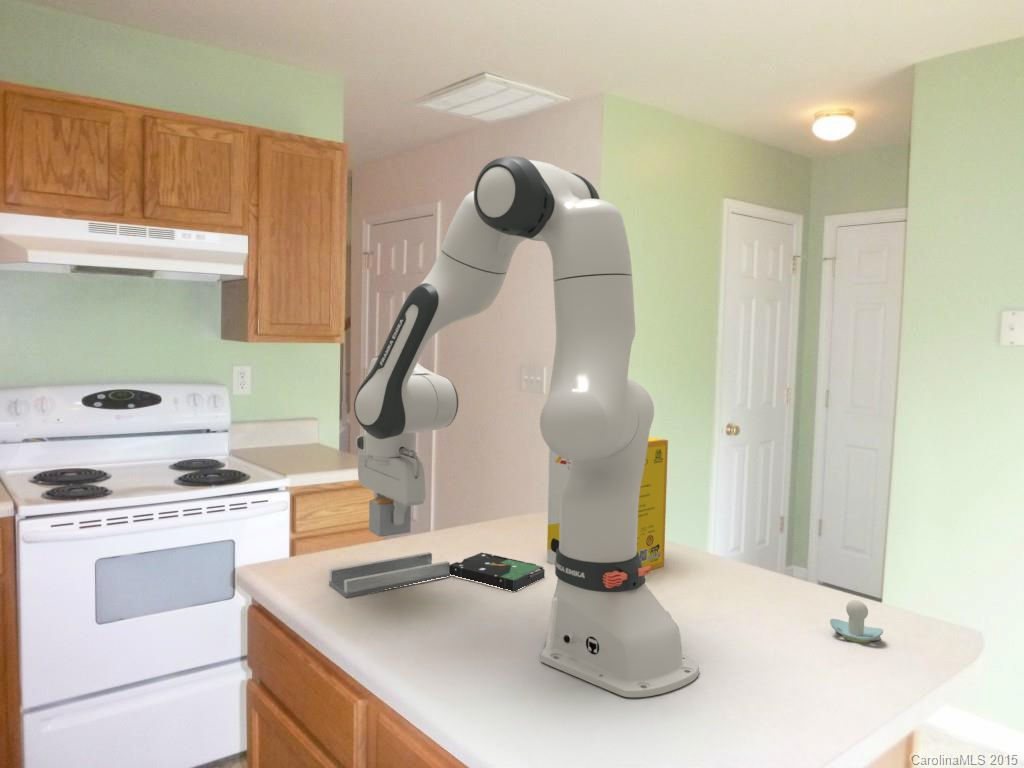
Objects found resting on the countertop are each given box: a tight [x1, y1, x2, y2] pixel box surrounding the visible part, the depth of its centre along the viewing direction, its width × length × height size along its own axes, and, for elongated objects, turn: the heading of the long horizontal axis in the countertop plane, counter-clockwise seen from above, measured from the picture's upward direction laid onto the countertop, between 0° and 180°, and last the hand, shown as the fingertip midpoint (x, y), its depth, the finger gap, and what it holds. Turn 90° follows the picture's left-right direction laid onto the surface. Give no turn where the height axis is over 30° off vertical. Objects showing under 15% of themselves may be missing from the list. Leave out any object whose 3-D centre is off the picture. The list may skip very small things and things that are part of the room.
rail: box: [328, 551, 451, 599], centre depth 136 cm, size 8×20×3 cm, turn 125°
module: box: [368, 497, 412, 538], centre depth 136 cm, size 4×6×6 cm
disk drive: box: [449, 552, 546, 592], centre depth 140 cm, size 10×3×15 cm
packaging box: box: [546, 436, 669, 573], centre depth 148 cm, size 16×16×25 cm
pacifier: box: [829, 599, 884, 644], centre depth 115 cm, size 7×6×6 cm
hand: (390, 520), depth 136 cm, fingers closed on module, 4 cm apart
